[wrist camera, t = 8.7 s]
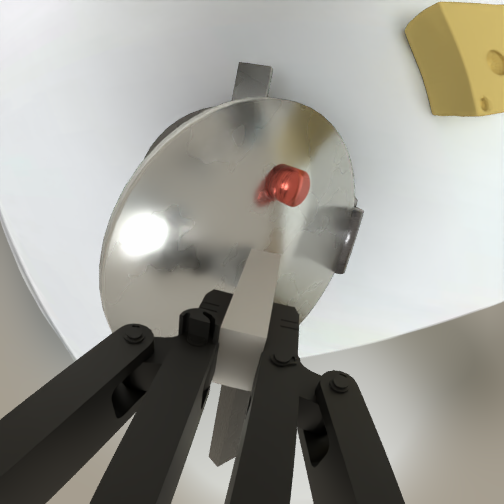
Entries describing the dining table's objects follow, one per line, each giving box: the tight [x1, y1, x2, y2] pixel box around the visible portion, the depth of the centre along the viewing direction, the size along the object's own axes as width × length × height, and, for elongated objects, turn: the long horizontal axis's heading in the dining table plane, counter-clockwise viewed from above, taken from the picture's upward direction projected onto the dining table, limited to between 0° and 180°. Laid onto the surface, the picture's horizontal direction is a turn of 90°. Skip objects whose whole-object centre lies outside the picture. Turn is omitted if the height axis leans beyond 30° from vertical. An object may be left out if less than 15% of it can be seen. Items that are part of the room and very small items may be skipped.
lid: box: [99, 97, 364, 466], centre depth 20 cm, size 30×18×2 cm
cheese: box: [405, 2, 504, 117], centre depth 18 cm, size 10×11×10 cm
